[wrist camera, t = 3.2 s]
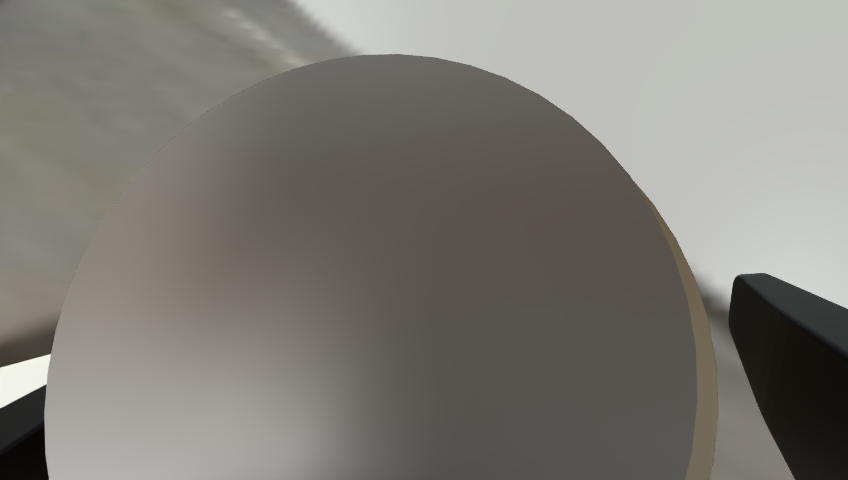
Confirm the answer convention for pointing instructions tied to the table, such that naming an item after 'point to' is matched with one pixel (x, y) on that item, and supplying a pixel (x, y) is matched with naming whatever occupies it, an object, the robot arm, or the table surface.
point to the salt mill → (382, 297)
